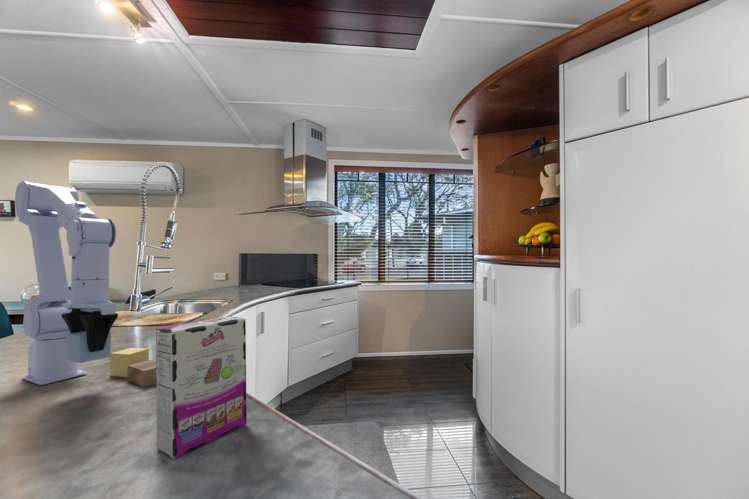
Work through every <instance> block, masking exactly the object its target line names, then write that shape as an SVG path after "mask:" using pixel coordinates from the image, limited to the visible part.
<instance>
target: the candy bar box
mask: <svg viewBox="0 0 749 499" xmlns="http://www.w3.org/2000/svg"><path fill="white" fill-rule="evenodd" d="M246 329H247V328H246V318H244V317H237V316H231V315H230V316H229V315H228V316H223V317H222V316H221V317H216V318H211V319H205V320H200V321H193V322H187V323H183V324H176V325H169V326H165V327H164V326H163V327H159V328H156V329H155V332H156V333H155V339H156V340H155V341H156V342H155V343H156V344H155V345H156V346H155V350H156V352H155V353H156V357H155V359H156V380H157V383H156V397H155V399H156V400H155V401H156V449H157V451H159V452H160V453H162V454H164V455H166V456H168V457H169V458H172V459H173V460H176V459H179V458H180V457H183V456H185V455H187V454H189V453H192V452H194V451H195V450H197V449H199V448H202V447H204V446H206V445H207V444H209V443H212V442H213V441H216V440H218V439H220V438H222V437H223V436H226V435H228V434H230V433H231V432H234V431H235V430H238V429H240V428H242V427H244V426H246V425H247V344H246V342H247V341H246V340H247V337H246V335H247V334H246V333H247V332H246V331H247V330H246ZM243 425H244V426H243ZM241 426H242V427H241ZM239 427H240V428H239ZM237 428H238V429H237Z"/></svg>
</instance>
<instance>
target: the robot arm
mask: <svg viewBox="0 0 749 499" xmlns="http://www.w3.org/2000/svg"><path fill="white" fill-rule="evenodd" d="M79 197H80V196H79V193H78V191H77V189H75V188H74V187H67V186H65V187H64V186H57V185H51V184H50V185H49V184H45V183H44V184H43V183H35V182H29V181H26V180H22V181H20V182H19V183H18V184H17V185H16V189H15V196H14V202H15V203H14V204H15V209H16V210H15V211H16V215H17V217H18V221H19V222H20V223H22V224H24V225H26V226H28V229H29V232H30V237H31V243H32V250H33V256H34V263H35V264H34V265H35V270H36V276H37V285H38V291H39V294H37V295H35V296H34V297H33V298H31V299H29V300H28V301H27V302H26V304H25V306H24V308H23V320H22V321H23V322H22V324H23V325H22V326H23V330H24V331H23V332H24V335H26V336H27V337H28V338H29V339H33V341H31V343H30V344H29V346H28V349H27V350H28V352H27V354H28V355H27V357H28V358H27V374H25V375H22V376H21V379H23V380H26V381H28V382H31V383H32V384H33V383H34V384H36V385H40V386H42V385H43V386H45V385H47V384H52V383H56V382H59V381H63V380H67V379H72V378H76V377H80V376H83V375H87V374H88V372H87V371H85V370H83V369H79V363H77V362H72V361H68V360H67V334H70V333H76V332H83V331H86V335H87V344H88V349H89V352H95V351H100V350H103V349H104V347H105V344H106V340H107V337H108V334H109V331H111V329H112V326H113V325H114V323H115V322H116V320H117V319H118V318H119V313H118V312H117V310H116V309H117V308H116V307H117V303H115V302H112V301H111V300H109V297H110V296H109V295H110V294H109V292H110V290H109V289H110V288H109V287H110V286H109V285H110V249H111V248H112V247H113V246H114V244H115V242H116V237H117V228H116V225H115V223H114V221H113V220H112V219H111V218H104V219H103V218H100V217H99V216H98V215H97V214H96V213H95V212H94V211H93V210H92V209H91V208H90V207H88V205H87V203H85V202H83V201H79V200H80V198H79ZM61 228H64V230H66V241H67V244H68V255H69V256H71V273H70V274H71V279H70V280H71V283H70V284H71V285H70V289H69V285H68V283H69V282H68V277H67V271H66V266H65V264H66V263H65V259H64V255H63V254H64V253H63V248H62V242H61V236H60V229H61Z"/></svg>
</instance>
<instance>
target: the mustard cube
mask: <svg viewBox="0 0 749 499" xmlns="http://www.w3.org/2000/svg"><path fill="white" fill-rule="evenodd" d="M149 350H150V349H149V348H142V347H141V348H139V347H129V348H125V349H121V350H117V351H114V352H110V370H109V372H110V374H109V376H112V377H122V378H127V373H128V365H131V364H136V363H140V362H145V361H149V360H150V359H149V358H150V357H149V356H150V351H149Z"/></svg>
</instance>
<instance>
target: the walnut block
mask: <svg viewBox="0 0 749 499" xmlns="http://www.w3.org/2000/svg"><path fill="white" fill-rule="evenodd" d="M126 378H127V379H126V380H127V382H130V383H131V384H134V385H137V386H140V387H142V388H144V387H145V388H146V387H149V386H152V385H157V380H156V358H154V359H149V361H145V362H140V363H136V364H131V365H128V373H127V377H126Z"/></svg>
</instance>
